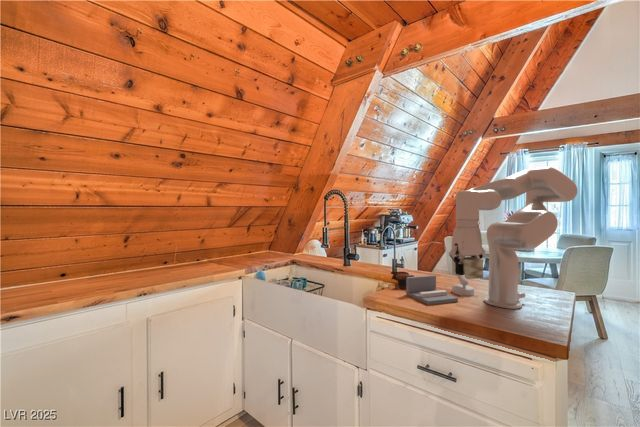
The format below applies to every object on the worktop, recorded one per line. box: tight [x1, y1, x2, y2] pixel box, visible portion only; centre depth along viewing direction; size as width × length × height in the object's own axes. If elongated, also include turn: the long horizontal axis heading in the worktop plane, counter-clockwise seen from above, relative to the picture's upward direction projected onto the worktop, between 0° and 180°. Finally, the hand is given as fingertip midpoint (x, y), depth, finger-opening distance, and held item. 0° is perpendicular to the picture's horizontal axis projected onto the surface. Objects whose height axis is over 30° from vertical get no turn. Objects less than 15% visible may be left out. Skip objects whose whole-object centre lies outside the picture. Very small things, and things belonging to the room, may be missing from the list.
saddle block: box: [451, 256, 484, 280], centre depth 106 cm, size 6×8×6 cm
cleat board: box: [405, 274, 459, 306], centre depth 119 cm, size 14×14×8 cm
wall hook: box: [451, 275, 475, 297], centre depth 128 cm, size 9×10×10 cm
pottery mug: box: [390, 270, 415, 290], centre depth 136 cm, size 12×10×8 cm
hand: (467, 273), depth 106 cm, fingers closed on saddle block, 6 cm apart
